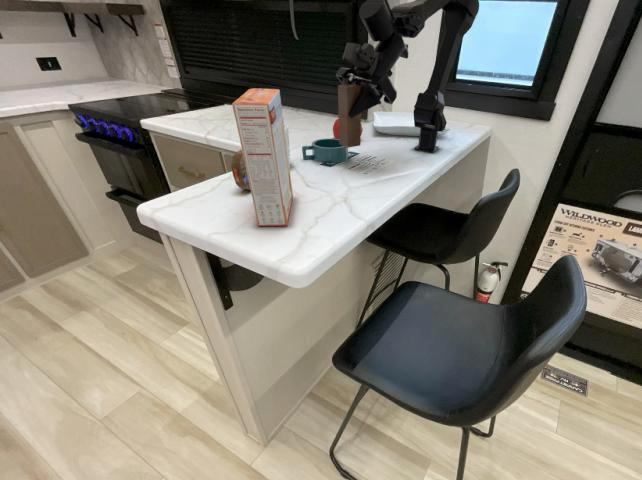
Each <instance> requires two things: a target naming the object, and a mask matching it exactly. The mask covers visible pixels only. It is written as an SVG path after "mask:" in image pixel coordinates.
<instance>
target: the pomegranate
mask: <svg viewBox="0 0 642 480" xmlns="http://www.w3.org/2000/svg"><path fill="white" fill-rule="evenodd" d="M337 117H338V118H336V119H335V121H334V122H333V124H332V134H333V138H334V139H339V115H337ZM363 130H364V128H363V126H362V124H361V136H362V135H363Z"/></svg>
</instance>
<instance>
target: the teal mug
mask: <svg viewBox="0 0 642 480" xmlns="http://www.w3.org/2000/svg"><path fill="white" fill-rule="evenodd" d="M301 151H302V152H301V153H302V159H303V160H314V161H315V162H318V163H321V164H341V163H344V162H346V161H348V160H349V147H348V148H347V147H345V146H343V145H341V144H339V139H335V138H318V139H316V140H313V141H312V142H311V145H303V146H301ZM307 151H311V154H307Z"/></svg>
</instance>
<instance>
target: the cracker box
mask: <svg viewBox="0 0 642 480" xmlns="http://www.w3.org/2000/svg"><path fill="white" fill-rule="evenodd" d="M231 105H232V111H233V114H234V117H235V123H236V128H237V133H238V137H239V141H240V146H241V149H242V152H243V156H244V161H245V166H246V171H247V175H248V180H249V185H250V189H251V190H250V193H251V198H252V203H253V209H254V212H255V217H256V222H257V226H258V227H281V226H283V227H285V226H288V223H289V219H290V214H291V209H292V205H293V199H294V193H293V185H292V184H293V183H292V177H291V176H292V175H291V168H290V166H289V160H288V153H287V145H286V137H285V129H284V125H285V121H284V115H283V107H282V105H283V104H282V99H281V91H280V89H279V88H277V89H276V88H260V87H258V88H255V87H254V88H249V89H247V90H246V91H245V92H244V93H243V94H241V95H240V97H238V98H237V99H235V101H233V102H232V103H231Z"/></svg>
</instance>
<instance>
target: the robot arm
mask: <svg viewBox="0 0 642 480" xmlns="http://www.w3.org/2000/svg"><path fill="white" fill-rule="evenodd" d="M440 10H442V11H443V13H444V15H443V22H444V30H445V31H444V34H443V37H442V41H441V44H440V46H439V47H440V48H439V50H438V53H437V57H436V59H435V60H436V61H435V64H434V67H433V69H432V73H431V76H430V78H429V81H428V85H427V87H426V89H425V90H424V91H423V92H419V93H418V95H417V97H416V101H415V104H414V106H413V112H412V113H413V114H414V125H415V127H419V128H420V135H419V136H418V143H417V144H418V145H416V146H415V147H414V151H421V152H426V153H434V152H436V151H437V150H438V149H439V148H440V146H439V145H437V140H438V136H439V135H438V131H443V130H445V127H446V124H447V123H448V122H447V119H446V116H445V114H444V110H445V100H444V99H445V98H444V93H445V89H446V86H447V84H448V81H449V78H450V74H451V71H452V69H453V66H454V63H455V59H456V57H457V53H458V51H459V48H460V44H461V42H462V39H463V37H464V36H465V35H466V34H467V33H468V32H469V31H470V30H471V28H472V27H473V25H474V22H475V20H476V18H477V16H478V13H479V10H480V1H479V0H413V1H409V2H404V3H401V4H397V5H394V6H393V7H392V8H391V6H390V4H389V1H388V0H365V2H363V3H362V4H361V6H360V8H359V11H358V14H359V17H360V19H361V22H362V23H363V25H364V27H365V29H366V31H367V33H368V35H369V37H370V39H371V40H372V41H373V42H376V43H377V42H378V43H377V44H376V46H374V45H373V44H372V43H370V42H369V43H368V42H364V43H363V44H362V45H361V44H358V43H354V42H346V45H345V49H344V52H343V55H342V60H343V61H344V62H348V63H349V64H351V65H352V66H354V68H353V69H352V68H349V67H339V68H338V70H337V71H336V73H335V77H336V78H337V79H338V81H339V82H340V83H341V85H346V84H353V85H357V86H361V89H360V94H359V96H358V98H357V99H356V101H355V103H354V105H353V107H352V108H351V110H350V112H349V117H350V118H353V117H355V116H357V115H358V114H360V113H361V114H362V113H364V112H365V111H368V110H369V109H371V108H373V107H376V106H377V105H381V104H382V101H381V99H382V98H383V102H384V103H385V104H388V105H393V104H394V102H395V101H396V100H397V96H398V91H397V89H396V87H395V85H394V83H393V82H392V81H391V79H390V78H391V77H392V75H393V71H392V69H393V67H394V66H395V64H396V63H397V61H398V60H399V59H400V58H403V59H409V44H408V43H405V40H404V38H406V39H415V38H417V37H418V36H419V34H420V33H421V32H422V31H423V30H424V28H425V27H426V26H425V25H426V21H427V20H428V19H430V18H431V17H432V16H434V15H435V14H436V13H438V12H439V11H440ZM356 74H358V75H356ZM447 125H448V124H447Z"/></svg>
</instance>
